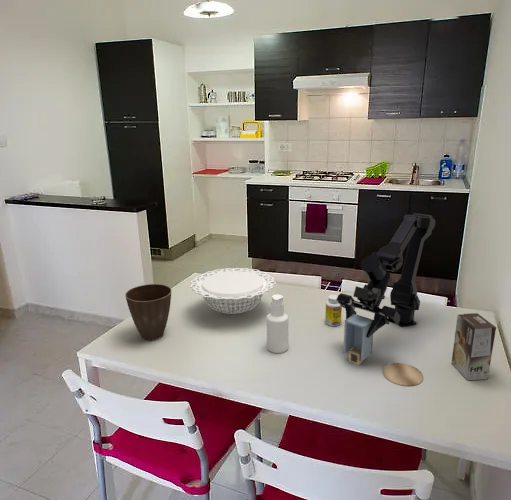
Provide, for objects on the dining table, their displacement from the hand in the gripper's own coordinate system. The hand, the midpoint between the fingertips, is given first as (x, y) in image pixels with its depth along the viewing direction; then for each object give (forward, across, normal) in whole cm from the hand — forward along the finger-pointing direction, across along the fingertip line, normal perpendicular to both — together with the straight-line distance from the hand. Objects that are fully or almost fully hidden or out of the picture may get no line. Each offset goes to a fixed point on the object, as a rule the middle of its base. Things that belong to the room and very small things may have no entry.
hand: (356, 333), depth 123 cm
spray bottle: (+13, -23, +1) cm, 26 cm away
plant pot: (+28, -61, -14) cm, 69 cm away
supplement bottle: (-5, -19, +19) cm, 27 cm away
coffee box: (-5, +27, +19) cm, 34 cm away
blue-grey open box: (+4, 0, +6) cm, 7 cm away
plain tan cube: (+6, 0, +8) cm, 10 cm away
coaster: (+5, +14, +9) cm, 17 cm away
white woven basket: (+7, -52, +7) cm, 53 cm away
